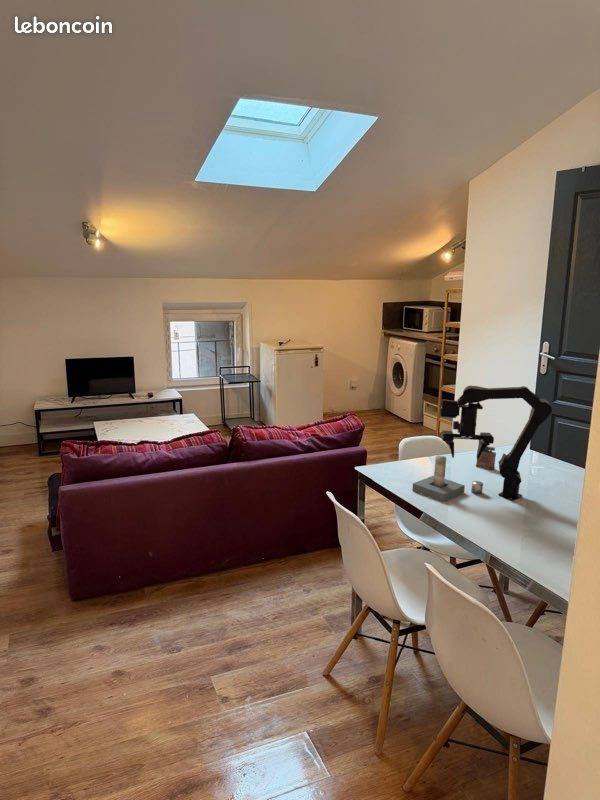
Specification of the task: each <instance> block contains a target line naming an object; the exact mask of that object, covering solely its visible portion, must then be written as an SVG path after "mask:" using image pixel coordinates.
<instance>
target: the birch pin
mask: <svg viewBox="0 0 600 800" xmlns="http://www.w3.org/2000/svg"><path fill="white" fill-rule="evenodd" d="M446 464H447V457H446V456H444V455H436V456H435V459H434V471H433V472H434V473H433V476H434V483H433V486H436V487H439V488H442V487H444V480H445V479H446V477H445V476H446Z"/></svg>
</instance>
